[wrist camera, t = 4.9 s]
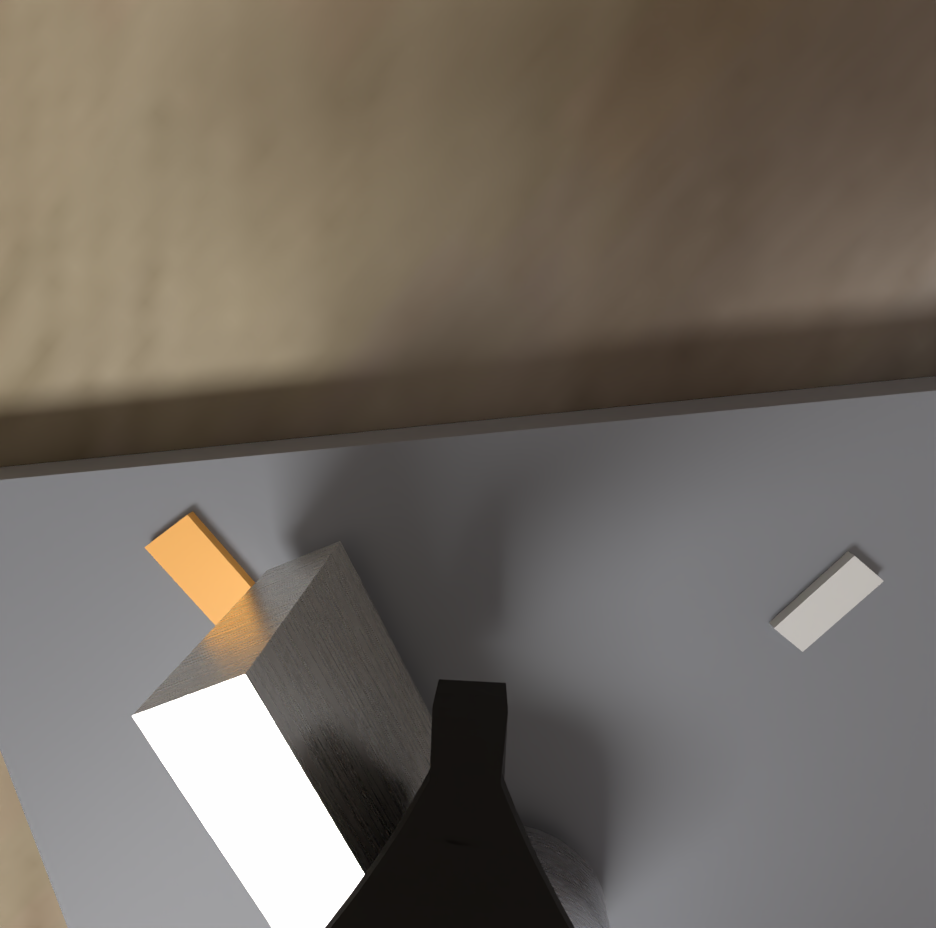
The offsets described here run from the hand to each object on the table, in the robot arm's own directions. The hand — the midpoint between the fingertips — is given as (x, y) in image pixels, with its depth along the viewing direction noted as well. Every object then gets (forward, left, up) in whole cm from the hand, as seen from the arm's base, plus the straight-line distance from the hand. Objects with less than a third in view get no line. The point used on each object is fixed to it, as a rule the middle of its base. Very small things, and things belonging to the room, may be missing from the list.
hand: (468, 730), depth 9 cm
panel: (-6, 0, -4) cm, 7 cm away
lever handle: (-3, +1, -2) cm, 4 cm away
